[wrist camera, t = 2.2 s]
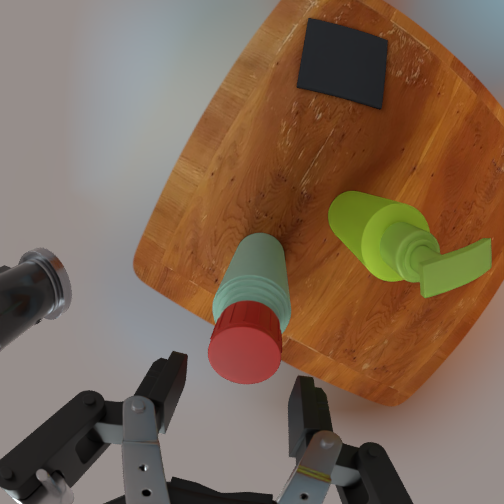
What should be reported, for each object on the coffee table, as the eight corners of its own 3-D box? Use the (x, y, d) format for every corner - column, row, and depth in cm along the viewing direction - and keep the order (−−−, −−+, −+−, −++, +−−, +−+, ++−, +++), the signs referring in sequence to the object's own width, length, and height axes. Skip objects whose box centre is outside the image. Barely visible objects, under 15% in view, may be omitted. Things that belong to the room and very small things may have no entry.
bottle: (232, 274, 34) (192, 378, 16) (240, 228, 33) (200, 298, 15) (278, 283, 34) (282, 394, 16) (288, 237, 33) (307, 318, 15)
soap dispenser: (387, 231, 32) (494, 300, 12) (334, 247, 33) (402, 340, 14) (377, 183, 30) (493, 204, 11) (322, 198, 31) (391, 237, 12)
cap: (214, 346, 19) (204, 376, 16) (221, 293, 18) (211, 319, 14) (273, 358, 19) (272, 389, 15) (287, 306, 17) (289, 333, 14)
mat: (296, 87, 28) (296, 86, 28) (308, 19, 25) (308, 17, 25) (379, 109, 28) (381, 108, 27) (386, 41, 25) (387, 40, 25)
